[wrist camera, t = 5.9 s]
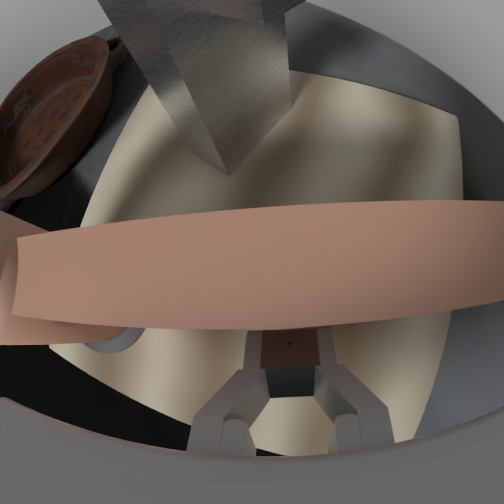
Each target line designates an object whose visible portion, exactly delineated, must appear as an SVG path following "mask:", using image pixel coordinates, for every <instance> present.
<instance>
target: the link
mask: <svg viewBox="0 0 504 504" xmlns="http://www.w3.org/2000/svg"><path fill="white" fill-rule="evenodd" d="M503 300H504V201H472V200H414V201H371V202H345V203H324V204H306V205H289V206H274V207H261V208H248V209H236V210H224V211H213V212H203V213H193V214H183V215H174V216H165V217H156V218H147V219H139V220H131V221H123V222H115V223H108V224H101V225H94V226H87V227H80V228H73V229H67V230H60V231H54V232H49V231H46V230H44V229H41V228H39V227H37V226H34V225H32V224H30V223H27V222H25V221H23V220H21V219H18V218H16V217H14V216H12V215H9V214H7V213H5V212H3V211H0V345H43V344H71V343H90V342H104V341H109V340H112V339H114V338H116V337H118V336H119V335H120V334H121V333H122V332H123V331H124V330H125V329H126V327H136V328H159V329H206V330H221V329H270V328H292V327H310V326H325V325H338V324H349V323H360V322H370V321H379V320H388V319H396V318H404V317H412V316H419V315H426V314H432V313H439V312H445V311H451V310H457V309H463V308H468V307H473V306H479V305H484V304H489V303H493V302H498V301H503Z"/></svg>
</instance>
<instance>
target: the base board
mask: <svg viewBox="0 0 504 504" xmlns="http://www.w3.org/2000/svg"><path fill="white" fill-rule="evenodd" d="M289 80H290V97H291V110H290V111H289V112H288V113H287V114H286V115H285V116H284V117H283V118H282V119H281V120H280V121H279V122H278V123H277V124H276V125H275V126H274V128H273V129H272V130H271V131H270V132H269V133H268V134H267V135H266V136H265V137H264V138H263V140H262V141H261V142H260V143H259V144H258V145H257V146H256V147H255V148H254V149H253V151H252V152H251V153H250V154H249V155H248V156H247V157H246V158H245V160H244V161H243V162H242V163H241V164H240V165H239V166H238V168H237V169H236V170H235V171H234V172H233V173H232V174H231V176H230V177H229V176H227V175H226V174H224V173H223V172H221V171H219V170H218V169H216V168H215V167H213V166H212V165H210V164H209V163H207V162H205V161H204V160H202V159H201V158H199V157H197V156H196V155H194V154H193V153H192V152H191V150H190V149H189V147H188V145H187V144H186V142H185V141H184V139H183V137H182V136H181V134H180V132H179V131H178V129H177V128H176V126H175V124H174V123H173V121H172V120H171V118H170V116H169V115H168V113H167V112H166V110H165V108H164V107H163V105H162V103H161V102H160V100H159V99H158V97H157V95H156V94H155V92H154V91H153V89H152V87H151V86H150V84H149V86H148V87H147V89H146V90H145V92H144V94H143V95H142V97H141V99H140V100H139V102H138V104H137V105H136V107H135V109H134V111H133V112H132V114H131V116H130V118H129V120H128V121H127V123H126V125H125V127H124V129H123V131H122V133H121V135H120V136H119V138H118V140H117V142H116V144H115V146H114V148H113V150H112V152H111V155H110V157H109V159H108V161H107V163H106V165H105V167H104V169H103V172H102V174H101V176H100V178H99V181H98V183H97V185H96V188H95V190H94V193H93V195H92V197H91V200H90V202H89V205H88V208H87V210H86V213H85V215H84V218H83V221H82V224H81V226H80V227H87V226H94V225H101V224H108V223H115V222H123V221H131V220H139V219H147V218H156V217H165V216H174V215H183V214H193V213H203V212H213V211H224V210H236V209H248V208H261V207H274V206H289V205H306V204H324V203H345V202H371V201H414V200H463V170H462V153H461V141H460V132H459V123H458V117H457V116H455V115H452V114H450V113H448V112H445V111H443V110H440V109H438V108H435V107H432V106H430V105H427V104H424V103H422V102H419V101H416V100H413V99H410V98H407V97H404V96H401V95H398V94H395V93H391V92H388V91H385V90H381V89H378V88H374V87H370V86H367V85H363V84H359V83H355V82H350V81H346V80H342V79H337V78H332V77H327V76H322V75H316V74H311V73H305V72H298V71H291V70H289ZM451 315H452V310H451V311H445V312H439V313H432V314H426V315H419V316H412V317H404V318H396V319H388V320H379V321H370V322H360V323H349V324H338V325H325V326H331V328H332V333H333V338H334V344H335V350H336V356H337V362H338V364H343V365H344V366H345V367H346V368H347V369H348V370H349V371H350V372H351V373H352V374H353V375H355V376H356V377H357V378H358V379H359V380H360V381H361V382H362V383H363V384H364V385H365V386H366V387H367V388H368V389H369V390H370V391H371V392H372V393H373V394H375V395H376V396H377V397H378V398H379V399H380V400H381V401H382V402H383V403H384V404H385V405H386V406H387V407H388V410H389V415H390V420H391V425H392V430H393V435H394V440H395V443H397V442H401V441H405V440H410V439H413V437H414V435H415V432H416V430H417V428H418V425H419V423H420V420H421V418H422V415H423V412H424V410H425V407H426V404H427V402H428V399H429V396H430V393H431V390H432V387H433V384H434V381H435V378H436V375H437V371H438V368H439V364H440V361H441V357H442V354H443V350H444V346H445V342H446V338H447V333H448V329H449V324H450V320H451ZM310 327H315V328H316V327H322V326H310ZM296 328H309V327H292V328H270V329H221V330H206V329H159V328H136V327H126V329H125V330H124V331H123V332H122V333H121V334H120V335H119V336H118V337H116V338H114V339H112V340H109V341H104V342H90V343H71V344H50V345H49V348H51V349H52V350H53V351H55V352H56V353H58V354H59V355H60V356H62V357H63V358H65V359H66V360H68V361H69V362H71V363H72V364H74V365H75V366H77V367H78V368H80V369H82V370H83V371H85V372H86V373H88V374H90V375H91V376H93V377H95V378H96V379H98V380H100V381H101V382H103V383H105V384H106V385H108V386H110V387H112V388H114V389H115V390H117V391H119V392H121V393H123V394H125V395H126V396H128V397H130V398H132V399H134V400H136V401H138V402H140V403H142V404H144V405H146V406H148V407H150V408H152V409H155V410H157V411H159V412H161V413H163V414H165V415H168V416H170V417H172V418H175V419H177V420H179V421H182V422H184V423H186V424H189V425H191V426H192V422H193V417H194V415H195V414H196V413H197V412H198V411H199V410H200V409H201V408H202V407H203V406H204V405H205V404H206V403H207V402H208V401H209V400H210V399H211V398H212V397H213V396H214V395H215V394H216V393H217V391H218V390H219V389H220V388H221V387H222V386H223V385H224V384H225V383H226V382H227V381H228V380H229V379H230V378H231V377H232V376H233V374H234V373H235V372H236V371H237V370H238V369H243V362H244V353H245V344H246V335H247V332H248V330H283V329H296ZM333 425H334V424H333V422H332V421H331V420H330V418H329V417H328V416H327V415H326V413H325V412H324V411H323V409H322V408H321V407H320V405H319V404H318V403H317V402H316V400H315V399H314V398H313V396H306V397H285V398H270V400H269V402H268V403H267V405H266V406H265V408H264V409H263V410H262V412H261V413H260V415H259V416H258V417H257V419H256V420H255V422H254V423H253V424H252V426H251V427H250V428H249V431H250V434H251V436H252V439H253V442H254V445H255V448H259V449H263V450H266V451H270V452H274V453H278V454H282V455H286V456H303V455H317V454H328V448H327V446H328V443H329V439H330V436H331V433H332V429H333Z"/></svg>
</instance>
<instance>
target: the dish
mask: <svg viewBox="0 0 504 504" xmlns="http://www.w3.org/2000/svg"><path fill="white" fill-rule="evenodd" d="M128 54H129V50H128V49H127V47H126V46H125V44H124V42H123V41H122V39H121V38H120V37H118V38H114V39H111V40H109V41H105V40H104V39H102V38H100V37H95V36H91V37H86V38H83V39H79V40H77V41H74V42H72V43H70V44H68V45H66V46H64V47H62V48H60V49H58V50H57V51H55V52H53V53H52V54H50V55H49V56H47V57H46V58H45V59H43V60H42V61H41V62H40V63H38V64H37V65H36V66H35V67H34V68H33V69H31V70H30V71H29V72H28V73H27V74H26V75H25V76H24V77H23V78H22V79H21V80H20V81H19V82H18V83H17V84H16V85H15V87H14V88H13V89H12V90H11V92H10V93H9V94H8V95H7V97H6V98H5V99H4V101H3V102H2V104H1V106H0V211H3V212H5V213H7V212H8V210H9V209H10V207H11V206H12V204H13V203H14V202H15V201H16V200H18V199H19V198H25V197H30V196H33V195H36V194H38V193H39V192H41V191H43V190H44V189H46V188H47V187H48V186H50V185H51V184H52V183H53V182H54V181H56V180H57V179H58V178H59V177H60V176H61V175H62V174H63V173H64V172H65V171H66V170H67V169H68V168H69V167H70V166H71V165H72V164H73V162H74V161H75V160H76V158H77V157H78V156H79V155H80V153H81V152H82V151H83V150H84V148H85V147H86V146H87V144H88V143H89V142H90V140H91V139H92V137H93V136H94V134H95V133H96V131H97V129H98V127H99V125H100V123H101V122H102V120H103V118H104V116H105V114H106V112H107V109H108V107H109V105H110V101H111V98H112V91H113V79H112V77H113V73H114V71H115V70H116V69H117V68H118V67H119V66H120V65H121V63H122V62H123V61H124V60H125V59H126V57H127V56H128Z"/></svg>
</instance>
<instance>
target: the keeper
mask: <svg viewBox="0 0 504 504" xmlns="http://www.w3.org/2000/svg"><path fill="white" fill-rule="evenodd" d="M304 1H306V0H98V2H99V4H100V5H101V7H102V9H103V10H104V12H105V13H106V15H107V17H108V18H109V20H110V21H111V23H112V25H113V26H114V28H115V30H116V31H117V33H118V34H119V36H120V38H121V39H122V41H123V42H124V44H125V46H126V47H127V49H128V50H129V52H130V54H131V55H132V57H133V58H134V60H135V62H136V63H137V65H138V66H139V68H140V70H141V71H142V73H143V75H144V76H145V78H146V79H147V81H148V83H149V84H150V86H151V87H152V89H153V91H154V92H155V94H156V95H157V97H158V99H159V100H160V102H161V103H162V105H163V107H164V108H165V110H166V112H167V113H168V115H169V116H170V118H171V120H172V121H173V123H174V124H175V126H176V128H177V129H178V131H179V132H180V134H181V136H182V137H183V139H184V141H185V142H186V144H187V145H188V147H189V149H190V150H191V152H192V153H193V154H194V155H196V156H197V157H199V158H201V159H202V160H204V161H205V162H207V163H209V164H210V165H212V166H213V167H215V168H216V169H218V170H219V171H221V172H223V173H224V174H226V175H227V176H229V177H230V176H231V174H232V173H233V172H234V171H235V170H236V169H237V168H238V166H239V165H240V164H241V163H242V162H243V161H244V160H245V158H246V157H247V156H248V155H249V154H250V153H251V152H252V151H253V149H254V148H255V147H256V146H257V145H258V144H259V143H260V142H261V141H262V140H263V138H264V137H265V136H266V135H267V134H268V133H269V132H270V131H271V130H272V129H273V128H274V126H275V125H276V124H277V123H278V122H279V121H280V120H281V119H282V118H283V117H284V116H285V115H286V114H287V113H288V112H289V111H290V110H291V97H290V80H289V65H288V51H287V38H286V26H285V16H284V13H286V12H287V11H289V10H291V9H292V8H294V7H296V6H297V5H299V4H301V3H302V2H304Z"/></svg>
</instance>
